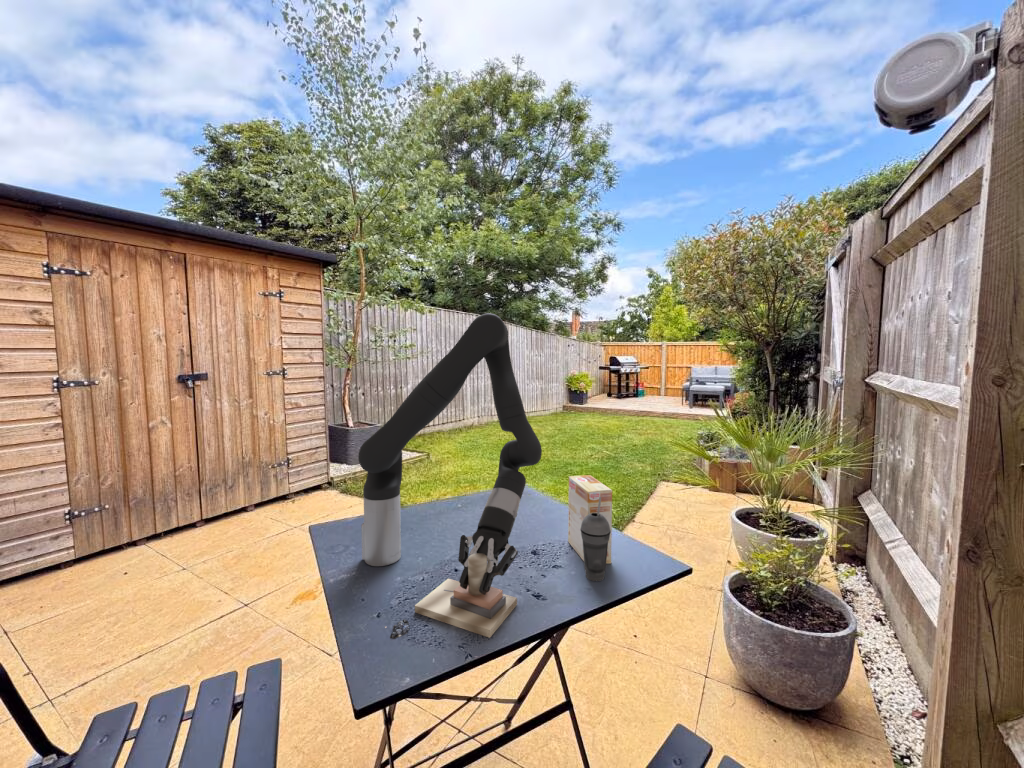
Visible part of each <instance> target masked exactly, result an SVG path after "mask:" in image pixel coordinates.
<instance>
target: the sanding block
mask: <svg viewBox="0 0 1024 768" xmlns="http://www.w3.org/2000/svg"><path fill="white" fill-rule="evenodd" d="M487 564H488V561H487V556H486V555H485V554H481V553H476V554H472V555H470V556H469V555H468V587H467V589H463V588H462V587H461V586H460V585H459V586H458V587H457V588H456V589H454V595H453V596H452V597H450V604H451V605H453V606H456V607H459V608H461V609H464V610H467V611H470V612H472V613H475V614H478V615H481V616H483V617H486V618H489V619H491V618H492V617H493V616H494V615H495V614H496V613H497V612H498V611H499V610H500V609H501V608H502V607H503V606H504V605H505V604H506V596H503V594H504V593H503V591H504V590H503V589H500V588H497V587H494V586H491V587H490V590H489V592H486V594H485V595H484V594H481V593H480V592H479V588H480V585H481V583H482V580H483V577H484V574H485V573H487Z"/></svg>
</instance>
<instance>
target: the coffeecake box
mask: <svg viewBox="0 0 1024 768" xmlns="http://www.w3.org/2000/svg"><path fill="white" fill-rule="evenodd" d="M599 497H601V504H600V512H599V514H601V515H603V516H604V517H605V518H606V519H607V521H608V523H609V526H610V531H611V533H610V537H609V541H608V549H607V558H606V565H608V564H612V534H613V531H612V528H613V525H612V524H613V490H612V489H611V488H610V487H608V486H607V485H605V484H604V483H602V482H601V481H599V480H598V479H597V478H595V477H593V476H592V475H591V474H585V475H583V474H582V475H568V508H567V509H568V510H567V511H568V515H567V517H568V519H567V521H568V522H567V524H568V525H567V526H568V527H567V529H568V530H567V531H568V532H567V536H568V537H567V542H568V543H569V544H570V545H571V547H572V548H573V549H574V551H575V552H576V554H577V555H578V556H579V557H580V558H581V560H582V561H583V562H584V553H583V539H582V536H581V531H580V529H581V524H582V521H583V519H584V518H585V517H586V516H587V515H589V514H591V513H597V512H598V504H599Z"/></svg>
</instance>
